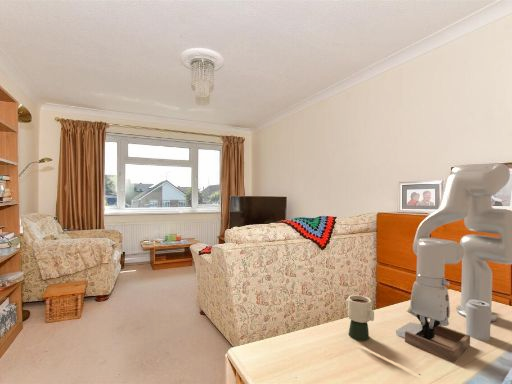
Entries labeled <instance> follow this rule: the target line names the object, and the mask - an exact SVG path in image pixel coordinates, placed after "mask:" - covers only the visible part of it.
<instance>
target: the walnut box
mask: <svg viewBox="0 0 512 384" xmlns="http://www.w3.org/2000/svg"><path fill="white" fill-rule="evenodd" d="M428 323H430V320H428ZM404 342H405V343H407V344H408V345H411V346H414V347H416V348H418V349H421V350H423V351H426V352H428V353H431V354H432V355H434V356H437V357H440V358H442V359H444V360H446V361H449V362H451V363H455V361H456V360H457V359H458V358H459V357H461V355H463V353H465V351H466V350H468V348H469V347H470V346H471V337H470V336H469V335H467V334H466V333H464V332H460V331H457V330H455V329H451V328H449V327H447V326H441V325H438V326H436V327H435V333H434V338H432V339H431V340H428V339H425V338H423V337H420V336H417V335H415V334H412V333H410V332H407V331H406V332H405V338H404Z"/></svg>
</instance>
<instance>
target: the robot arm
mask: <svg viewBox="0 0 512 384" xmlns="http://www.w3.org/2000/svg"><path fill="white" fill-rule="evenodd" d="M510 176H511V171H510V168H509V167H508V166H507V165H506V164H505V163H503V162H502V163H501V162H499V163H498V162H497V163H494V162H493V163H474V164H472V163H471V164H470V163H469V164H461V165H456V166H454V167H453V168H452V169H451V172H450V174H449V175H448V176H447V178H446V180H445V183H444V187H443V190H442V194H441V197H440V201H439V204H438V208H437V209H436V210H435V211H433V212H431V213H430V214H428V215H427V216H426V217H425V218H424V219H423V220H422V221H421V222H420V223H419V225H418V227H417V229H416V232H415V236H414V239H413V243H412V250H413V253H414V255H416V277H415V281H414V282H413V285H412V287H411V288H412V290H411V293H410V303H409V307H410V309H411V311H410V313H409V314H410V315H412V316H414V317H415V318H417V319H418V321H419V323H420V324H421V325H422V334H423V338H425V339H428V340H431V339H432V338H434V333H435V327H436V326H438V325H441V326H443V327H447V326H449V325H450V322H449V318H450V317H451V316H450V315H451V313H450V312H451V307H450V296H449V290H448V287H449V286H450V283H451V282H450V281H448V280H446V277H445V269H446V268H445V267H446V266H445V265H456V264H458V263H460V262H461V287H460V288H461V291H460V292H461V294H460V305H456V307H455V311H456V312H457V313H458V314H459V315H462V316H463V317H465V318H466V304H467V302H468V300H470V299H474V300H480V301H483V302H486V303H488V304H489V307H490V308H491V309H492V302H493V271H492V269H491V267H490V266H489V264H488V263H487V262H490V263H491V262H492V263H496V264H501V265H502V264H503V265H512V210H511V209H505V208H493V206H492V205H493V204H492V203H493V201H492V196H495V195H496V194H498V192H499V193H500V191H501V190H502V189H503V188H504V187H506V185H507V184H508V182H509V180H510V178H511V177H510ZM461 220H463V222H464V227H465V228H466V229H467V230H469V231H472V232H476V233H477V232H478V233H485V234H493V235H498V237H497V236H489V235H483V234H482V235H481V234H472V233H471V234H465V235H463V236H462V237H461V238H460V241H459V242H457V241H454V240H449V239H442V238H435V237H431V236H430V235H431V234H432V232H433V231H435V230H436V229H437V228H439V227H441V226H444V225H447V224H450V223H455V222H457V221H461ZM447 286H448V287H447ZM496 320H497V315H496V314H495V313H493V312H492V311H491V322H495V321H496ZM428 321H429V322H430V323H428Z"/></svg>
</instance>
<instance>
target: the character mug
mask: <svg viewBox="0 0 512 384" xmlns="http://www.w3.org/2000/svg"><path fill="white" fill-rule="evenodd" d="M345 306H346V307H345V308H346V309H347V317H348V319H349V320H350V323H349V329H348V336H349V337H350V338H351V339H353V340H355V341H357V342H358V341H360V342H367V341H369V339H370V336H369V335H370V332H369V325H368V323H369V322H370V321H371V322H374V320H375V311H374V310H373V309H372V299H371V298H369V297H367V296H365V295H360V294H352V295H348V298H346V301H345Z"/></svg>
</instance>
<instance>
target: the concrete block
mask: <svg viewBox="0 0 512 384" xmlns="http://www.w3.org/2000/svg"><path fill="white" fill-rule="evenodd" d="M406 331H407V332H410V333H412V334H415V335H417V336H420V337H423V334H422V325H421V323H414V322H410V321H409V322H408V323H406V324H405V325H403V326H400V328H398V329H396V330H395V335H396V336H398V337H401V338H403V339H405V332H406Z"/></svg>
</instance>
